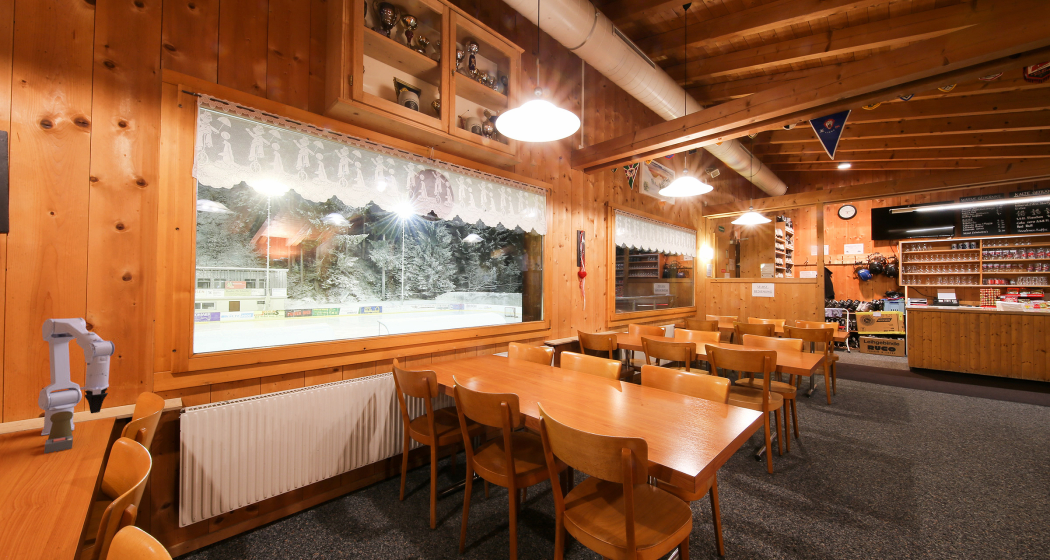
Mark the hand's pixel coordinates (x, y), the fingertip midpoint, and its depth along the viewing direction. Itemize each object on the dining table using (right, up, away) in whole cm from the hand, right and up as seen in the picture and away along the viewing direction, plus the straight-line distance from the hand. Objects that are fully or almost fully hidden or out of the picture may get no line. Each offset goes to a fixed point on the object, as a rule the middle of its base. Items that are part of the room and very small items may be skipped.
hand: (95, 410), depth 141 cm
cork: (-7, -10, -5) cm, 13 cm away
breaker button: (-1, -9, -10) cm, 13 cm away
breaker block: (-1, -10, -10) cm, 14 cm away
